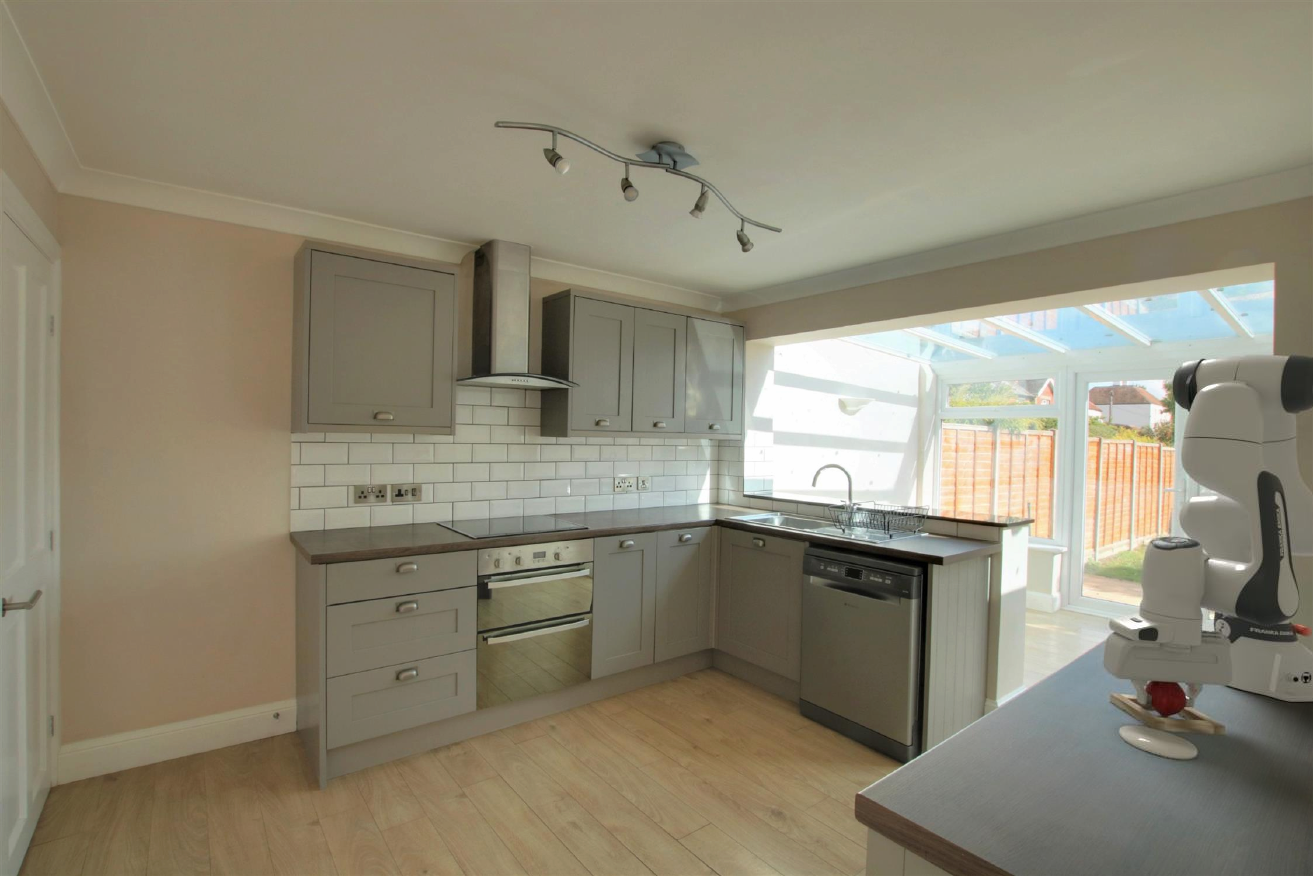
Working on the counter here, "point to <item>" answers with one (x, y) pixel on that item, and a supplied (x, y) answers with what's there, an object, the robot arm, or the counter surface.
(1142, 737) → the white domed disc
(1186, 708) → the frame
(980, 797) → the counter surface
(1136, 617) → the robot arm
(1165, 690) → the onion
